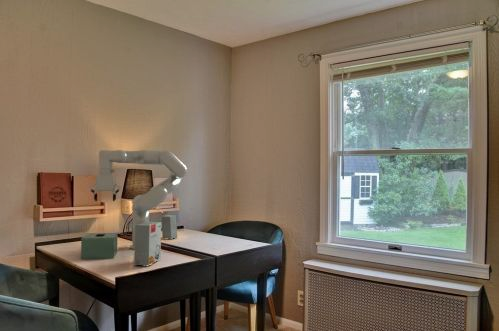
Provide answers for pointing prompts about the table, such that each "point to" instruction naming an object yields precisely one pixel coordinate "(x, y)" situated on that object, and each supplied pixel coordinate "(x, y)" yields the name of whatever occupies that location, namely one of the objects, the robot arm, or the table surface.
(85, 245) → the coin box
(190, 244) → the table surface
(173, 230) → the skincare box
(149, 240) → the hard drive box
